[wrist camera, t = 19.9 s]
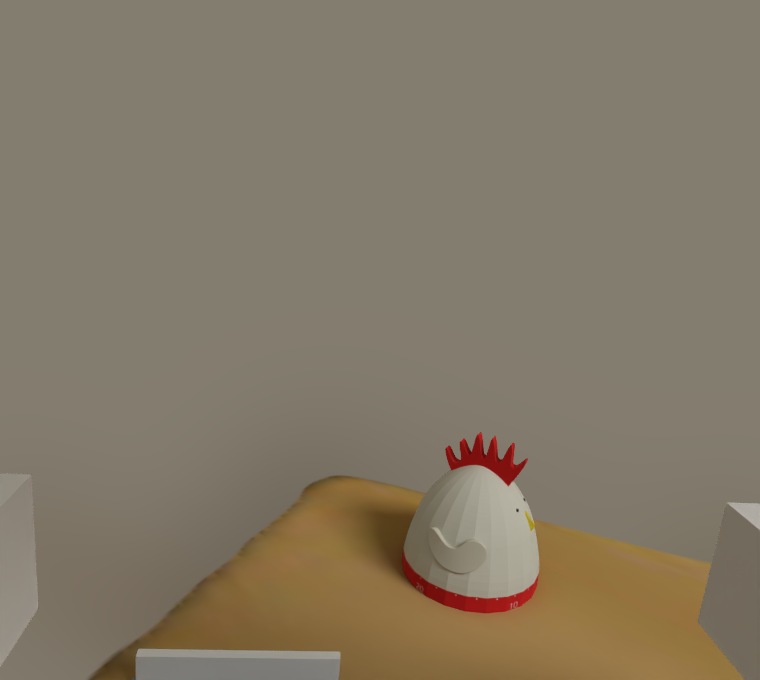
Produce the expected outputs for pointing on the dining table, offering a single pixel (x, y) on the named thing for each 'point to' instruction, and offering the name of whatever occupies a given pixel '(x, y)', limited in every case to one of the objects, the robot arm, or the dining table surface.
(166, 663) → the dish rack
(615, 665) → the dining table surface
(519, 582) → the kitchen timer
